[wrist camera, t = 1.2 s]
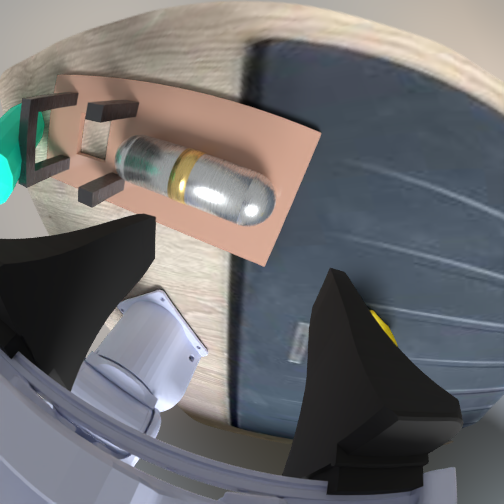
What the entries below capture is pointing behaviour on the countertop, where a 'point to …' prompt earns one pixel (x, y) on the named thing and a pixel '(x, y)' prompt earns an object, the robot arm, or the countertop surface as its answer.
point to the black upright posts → (42, 170)
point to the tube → (196, 179)
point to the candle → (12, 149)
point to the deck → (191, 136)
